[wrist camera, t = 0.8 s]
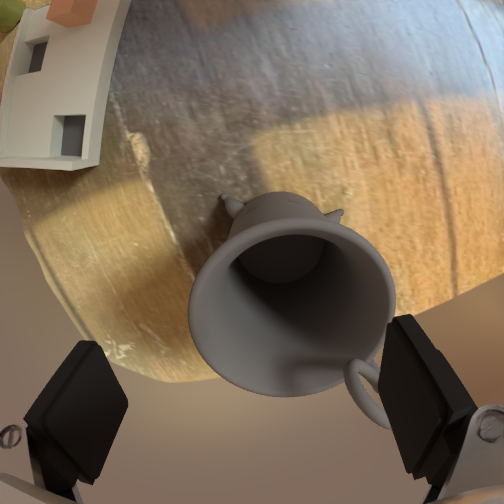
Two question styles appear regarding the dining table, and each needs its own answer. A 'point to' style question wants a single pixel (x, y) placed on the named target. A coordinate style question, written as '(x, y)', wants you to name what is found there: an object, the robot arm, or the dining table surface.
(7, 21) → the plant pot
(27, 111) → the tray
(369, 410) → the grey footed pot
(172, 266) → the dining table surface
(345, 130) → the dining table surface
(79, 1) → the block
